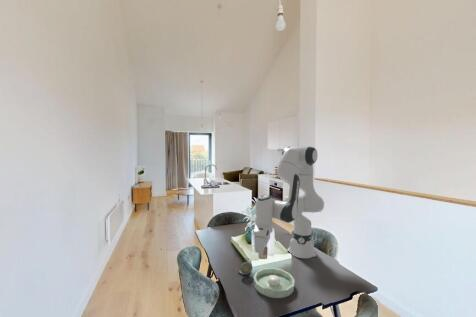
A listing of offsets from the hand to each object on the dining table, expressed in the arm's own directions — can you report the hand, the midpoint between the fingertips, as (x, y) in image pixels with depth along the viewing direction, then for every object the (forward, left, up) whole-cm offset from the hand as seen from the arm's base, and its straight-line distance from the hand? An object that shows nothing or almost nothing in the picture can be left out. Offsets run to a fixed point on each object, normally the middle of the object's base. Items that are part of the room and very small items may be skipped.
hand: (262, 254), depth 117 cm
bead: (0, 0, -2) cm, 2 cm away
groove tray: (0, +6, -15) cm, 16 cm away
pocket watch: (-5, -11, -15) cm, 20 cm away
